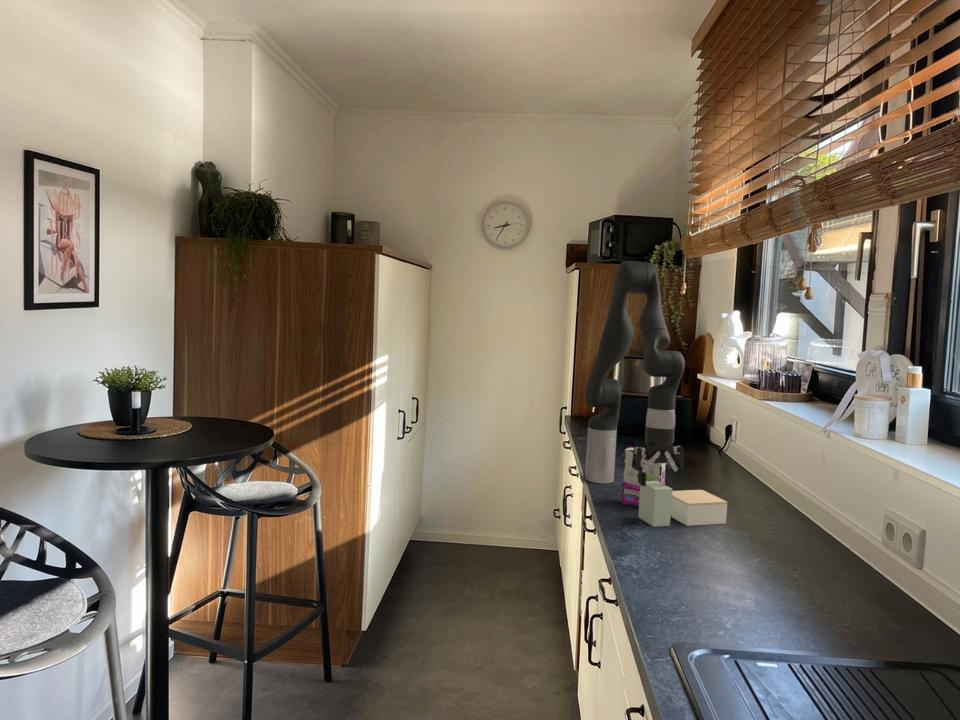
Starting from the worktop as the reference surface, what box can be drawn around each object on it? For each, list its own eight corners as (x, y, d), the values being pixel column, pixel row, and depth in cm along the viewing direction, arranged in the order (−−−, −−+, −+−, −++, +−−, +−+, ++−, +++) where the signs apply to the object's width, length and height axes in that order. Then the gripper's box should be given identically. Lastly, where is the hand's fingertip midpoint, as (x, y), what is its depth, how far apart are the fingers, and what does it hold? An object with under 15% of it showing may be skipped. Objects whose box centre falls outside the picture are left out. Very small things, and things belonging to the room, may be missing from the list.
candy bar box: (663, 506, 212) (667, 451, 211) (659, 511, 208) (663, 454, 206) (625, 500, 217) (629, 445, 216) (620, 504, 213) (624, 448, 211)
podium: (663, 512, 207) (664, 491, 206) (700, 510, 210) (702, 489, 210) (686, 525, 195) (688, 503, 195) (725, 523, 199) (727, 501, 198)
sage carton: (638, 517, 201) (640, 481, 200) (654, 516, 203) (656, 480, 202) (653, 526, 194) (655, 489, 193) (669, 525, 195) (672, 488, 194)
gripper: (676, 422, 201) (672, 480, 203) (629, 423, 197) (626, 482, 199) (691, 427, 194) (687, 487, 195) (643, 428, 190) (639, 489, 191)
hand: (656, 484), depth 197 cm, fingers open, 8 cm apart
